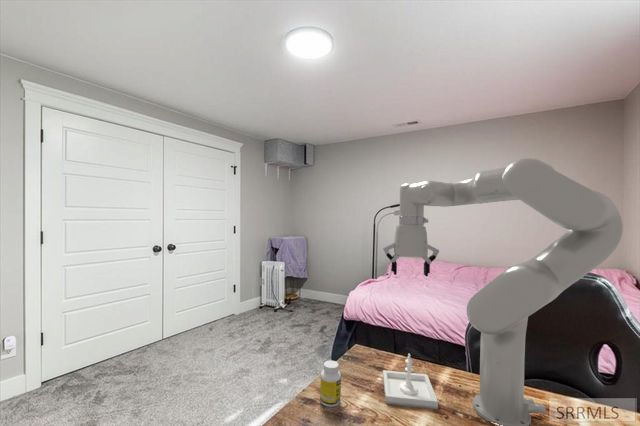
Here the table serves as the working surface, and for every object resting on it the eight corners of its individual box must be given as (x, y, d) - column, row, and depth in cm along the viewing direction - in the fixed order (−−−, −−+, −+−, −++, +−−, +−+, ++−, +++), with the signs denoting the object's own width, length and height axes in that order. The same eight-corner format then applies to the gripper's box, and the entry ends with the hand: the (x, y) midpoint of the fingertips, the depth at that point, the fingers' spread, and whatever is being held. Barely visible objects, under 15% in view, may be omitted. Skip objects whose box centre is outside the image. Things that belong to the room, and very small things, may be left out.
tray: (427, 381, 89) (427, 374, 89) (437, 409, 76) (437, 401, 76) (382, 376, 91) (382, 370, 91) (385, 403, 78) (386, 396, 78)
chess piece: (419, 388, 84) (420, 352, 84) (415, 397, 80) (415, 360, 80) (402, 382, 86) (402, 348, 87) (397, 391, 82) (397, 355, 82)
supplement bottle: (339, 409, 75) (339, 370, 75) (318, 406, 76) (318, 367, 76) (341, 396, 80) (342, 360, 80) (322, 393, 82) (322, 357, 82)
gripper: (436, 222, 98) (435, 273, 98) (383, 221, 101) (382, 271, 101) (442, 222, 91) (441, 278, 91) (384, 221, 93) (383, 275, 93)
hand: (410, 274), depth 96 cm, fingers open, 9 cm apart
